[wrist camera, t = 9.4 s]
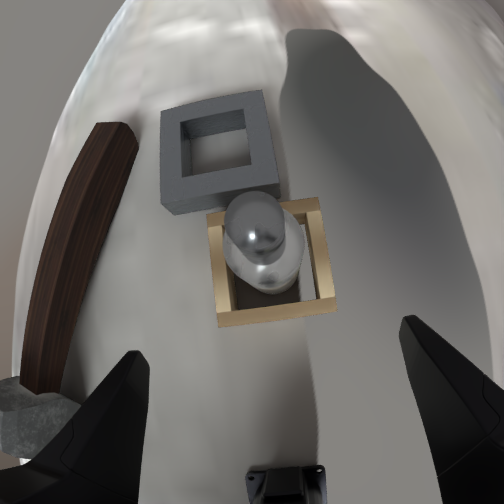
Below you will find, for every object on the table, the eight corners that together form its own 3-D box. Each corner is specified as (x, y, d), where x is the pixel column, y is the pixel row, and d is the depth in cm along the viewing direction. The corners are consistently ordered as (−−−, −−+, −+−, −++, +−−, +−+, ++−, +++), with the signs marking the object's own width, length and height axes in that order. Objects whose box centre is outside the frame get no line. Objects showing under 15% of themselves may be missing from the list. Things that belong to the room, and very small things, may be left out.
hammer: (124, 162, 32) (52, 425, 23) (76, 95, 21) (-27, 437, 13) (161, 165, 31) (87, 445, 22) (118, 91, 20) (8, 471, 12)
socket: (280, 197, 25) (279, 182, 22) (174, 215, 26) (160, 203, 23) (264, 109, 27) (261, 89, 24) (171, 128, 28) (160, 111, 25)
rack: (331, 311, 23) (337, 311, 20) (227, 325, 24) (218, 327, 21) (314, 210, 24) (317, 196, 21) (215, 225, 25) (206, 214, 22)
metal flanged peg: (302, 290, 23) (318, 265, 11) (250, 297, 24) (205, 281, 11) (294, 239, 24) (299, 162, 11) (243, 246, 25) (196, 179, 12)
